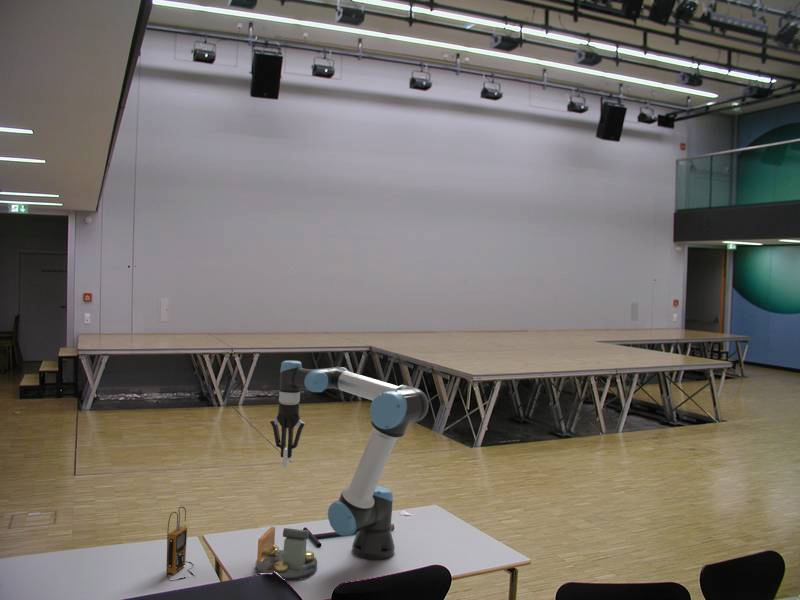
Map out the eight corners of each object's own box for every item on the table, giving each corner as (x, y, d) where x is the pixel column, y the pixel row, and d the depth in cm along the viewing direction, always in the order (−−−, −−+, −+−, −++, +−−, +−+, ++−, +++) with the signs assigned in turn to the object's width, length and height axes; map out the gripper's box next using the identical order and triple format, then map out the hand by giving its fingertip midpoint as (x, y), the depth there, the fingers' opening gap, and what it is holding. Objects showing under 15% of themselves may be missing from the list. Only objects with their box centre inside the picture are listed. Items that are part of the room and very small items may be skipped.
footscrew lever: (268, 551, 239) (269, 523, 239) (280, 552, 239) (282, 525, 238) (252, 568, 225) (253, 538, 225) (265, 569, 224) (266, 540, 224)
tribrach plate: (322, 559, 242) (323, 547, 242) (308, 583, 222) (309, 571, 222) (266, 553, 244) (266, 541, 244) (247, 576, 224) (248, 564, 224)
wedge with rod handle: (308, 562, 233) (310, 527, 233) (303, 569, 227) (305, 533, 227) (284, 560, 234) (286, 525, 234) (279, 567, 228) (281, 531, 228)
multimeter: (189, 583, 217) (192, 519, 216) (159, 579, 219) (162, 515, 218) (211, 565, 231) (214, 505, 231) (183, 561, 233) (186, 501, 233)
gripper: (308, 402, 261) (305, 465, 262) (274, 399, 263) (271, 462, 263) (304, 405, 254) (300, 470, 255) (268, 403, 255) (265, 467, 256)
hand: (285, 466), depth 259 cm, fingers closed
